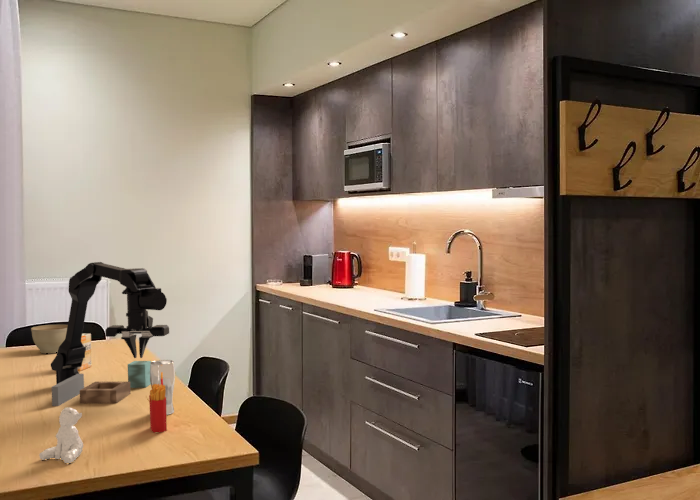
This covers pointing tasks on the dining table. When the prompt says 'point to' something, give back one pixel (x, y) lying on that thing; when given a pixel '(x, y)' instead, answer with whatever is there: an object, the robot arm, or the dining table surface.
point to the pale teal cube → (139, 374)
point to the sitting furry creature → (66, 438)
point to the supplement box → (86, 352)
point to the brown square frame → (105, 392)
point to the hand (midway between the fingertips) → (138, 357)
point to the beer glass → (164, 380)
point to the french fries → (158, 408)
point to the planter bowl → (49, 337)
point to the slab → (67, 389)
